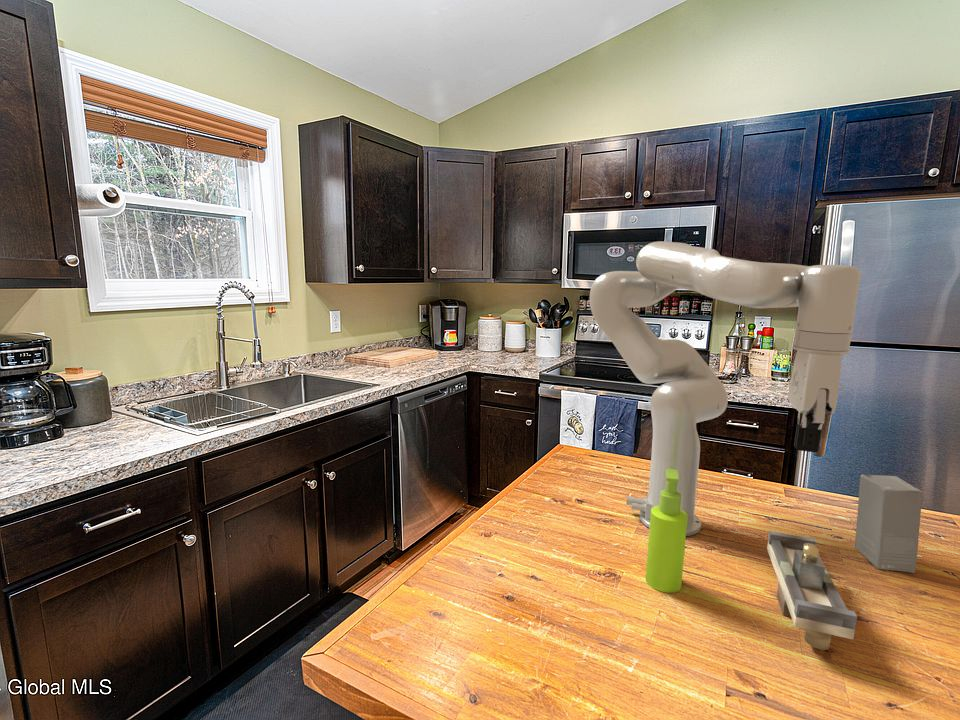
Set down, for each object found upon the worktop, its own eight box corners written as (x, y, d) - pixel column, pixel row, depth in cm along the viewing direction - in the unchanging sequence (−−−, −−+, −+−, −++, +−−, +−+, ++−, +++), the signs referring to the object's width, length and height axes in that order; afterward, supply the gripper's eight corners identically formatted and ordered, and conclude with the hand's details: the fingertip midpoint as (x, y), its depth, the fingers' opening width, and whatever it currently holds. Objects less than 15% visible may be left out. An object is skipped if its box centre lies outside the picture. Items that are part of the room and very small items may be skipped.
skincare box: (916, 574, 91) (930, 493, 88) (871, 569, 92) (884, 489, 89) (888, 550, 99) (901, 474, 96) (848, 545, 100) (859, 471, 97)
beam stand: (791, 651, 71) (797, 604, 70) (764, 568, 92) (769, 530, 90) (849, 665, 69) (857, 616, 68) (808, 577, 89) (814, 538, 88)
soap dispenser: (680, 573, 90) (689, 468, 87) (682, 595, 83) (692, 483, 80) (646, 566, 92) (654, 463, 88) (645, 588, 85) (654, 478, 82)
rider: (797, 586, 77) (802, 550, 76) (791, 572, 81) (796, 538, 80) (821, 591, 76) (827, 555, 75) (814, 576, 80) (819, 542, 79)
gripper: (784, 335, 89) (772, 433, 92) (805, 346, 75) (789, 461, 78) (834, 338, 86) (819, 439, 89) (865, 350, 72) (846, 469, 76)
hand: (805, 449), depth 84 cm, fingers closed
